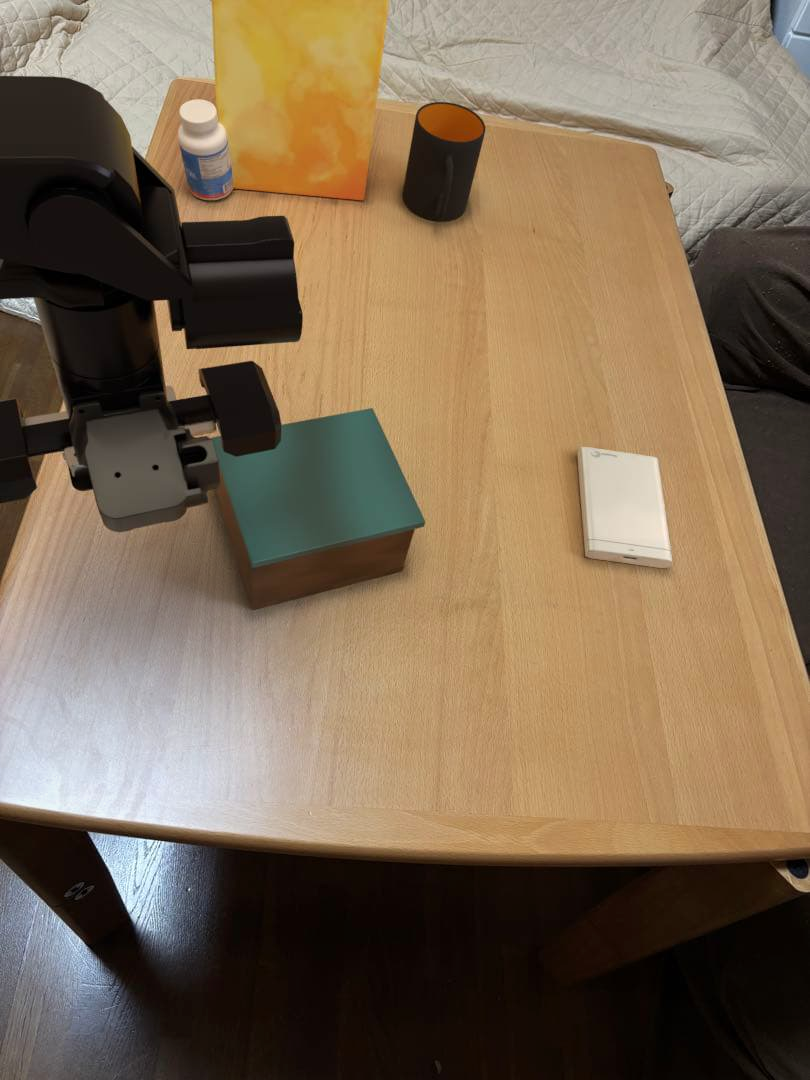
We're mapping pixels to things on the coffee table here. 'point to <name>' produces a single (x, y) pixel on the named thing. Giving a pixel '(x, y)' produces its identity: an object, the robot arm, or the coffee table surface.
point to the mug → (442, 160)
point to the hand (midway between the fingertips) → (139, 505)
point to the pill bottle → (205, 151)
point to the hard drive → (623, 508)
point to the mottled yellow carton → (299, 92)
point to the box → (312, 564)
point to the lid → (318, 489)
